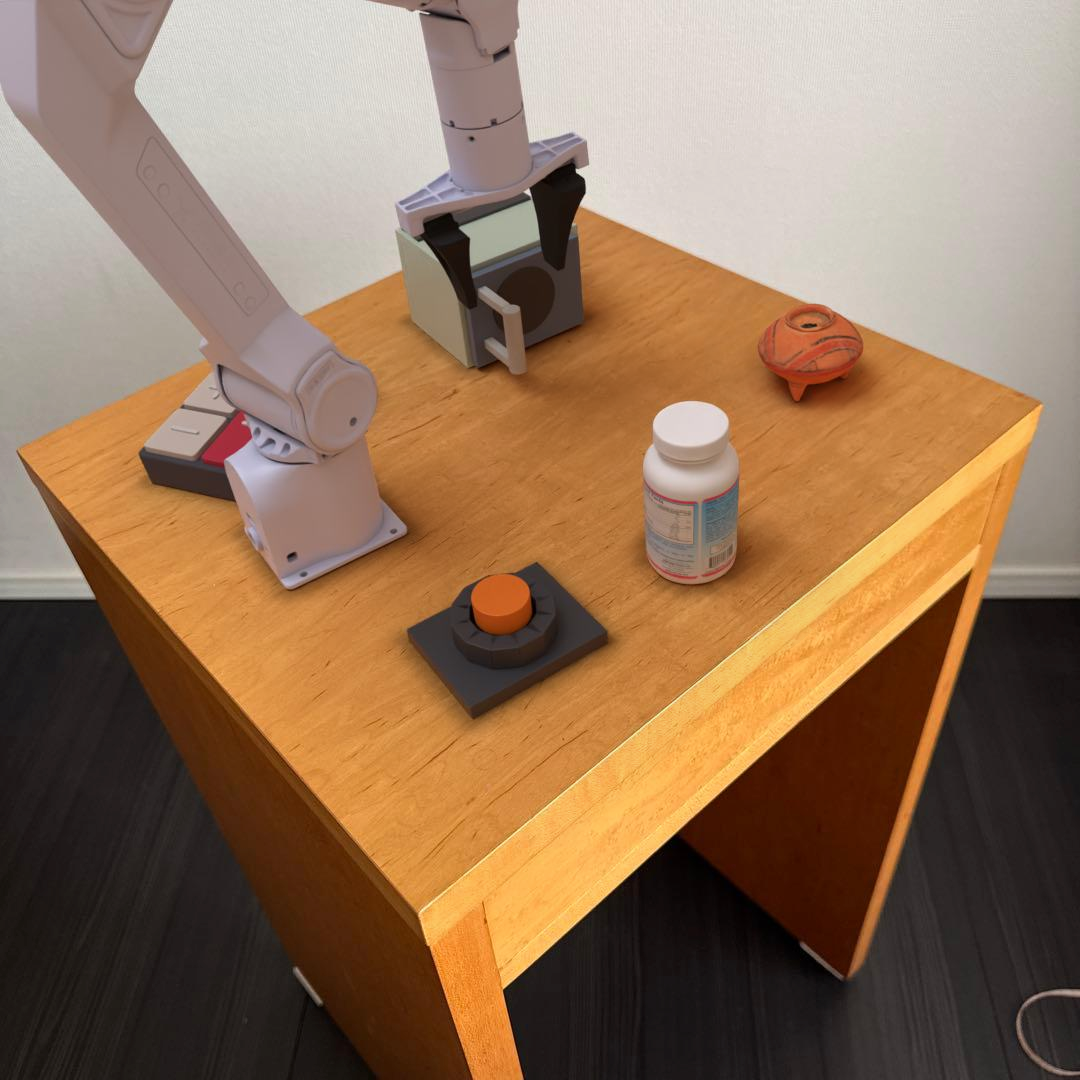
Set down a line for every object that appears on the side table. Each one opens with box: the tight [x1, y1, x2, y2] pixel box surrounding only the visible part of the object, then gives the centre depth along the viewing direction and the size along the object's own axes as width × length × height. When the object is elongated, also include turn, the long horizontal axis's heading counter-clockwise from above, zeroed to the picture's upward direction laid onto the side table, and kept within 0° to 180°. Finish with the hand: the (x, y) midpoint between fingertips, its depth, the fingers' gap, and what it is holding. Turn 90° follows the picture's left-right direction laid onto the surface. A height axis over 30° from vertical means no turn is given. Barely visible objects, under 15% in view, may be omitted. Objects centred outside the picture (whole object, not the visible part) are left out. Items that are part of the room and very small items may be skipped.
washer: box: [394, 191, 579, 369], centre depth 97 cm, size 12×10×9 cm
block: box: [406, 561, 609, 720], centre depth 70 cm, size 10×8×3 cm
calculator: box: [138, 370, 252, 502], centre depth 89 cm, size 11×4×15 cm
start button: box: [471, 573, 532, 635], centre depth 69 cm, size 4×4×2 cm
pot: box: [757, 303, 864, 402], centre depth 87 cm, size 8×8×7 cm
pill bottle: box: [642, 400, 740, 585], centre depth 72 cm, size 6×6×11 cm
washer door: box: [465, 233, 585, 376], centre depth 92 cm, size 11×6×8 cm, turn 124°
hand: (511, 283), depth 85 cm, fingers open, 7 cm apart
